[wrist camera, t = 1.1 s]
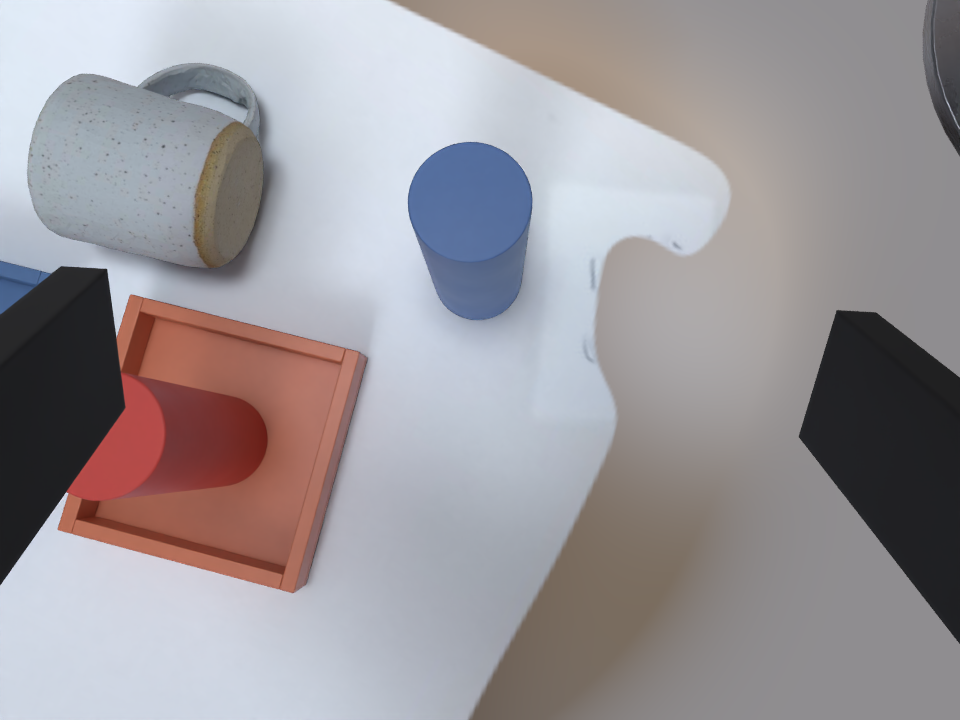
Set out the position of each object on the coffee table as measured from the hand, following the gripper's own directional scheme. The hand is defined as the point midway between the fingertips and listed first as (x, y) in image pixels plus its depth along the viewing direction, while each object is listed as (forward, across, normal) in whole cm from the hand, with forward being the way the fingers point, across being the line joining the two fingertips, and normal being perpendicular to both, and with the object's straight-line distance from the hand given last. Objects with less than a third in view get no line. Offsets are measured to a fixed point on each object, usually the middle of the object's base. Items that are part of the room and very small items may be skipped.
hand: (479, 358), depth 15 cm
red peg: (+20, -10, -15) cm, 27 cm away
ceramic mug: (+28, -13, -4) cm, 32 cm away
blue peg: (+24, +2, -7) cm, 26 cm away
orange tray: (+21, -10, -15) cm, 28 cm away
